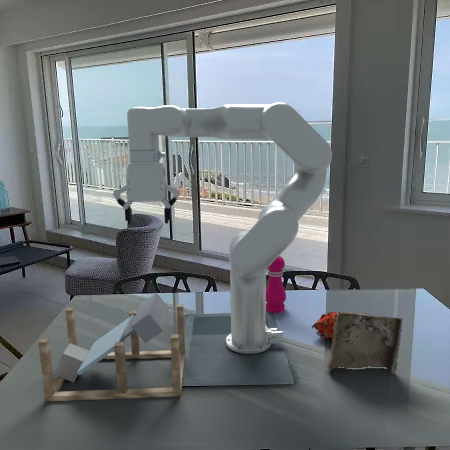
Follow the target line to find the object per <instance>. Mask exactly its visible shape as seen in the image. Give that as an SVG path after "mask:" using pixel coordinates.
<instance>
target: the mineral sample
mask: <svg viewBox="0 0 450 450" xmlns="http://www.w3.org/2000/svg"><path fill="white" fill-rule="evenodd" d="M340 312H341V313H340V314H339V313H338V314H339V315H338V316H337V318H336V323H335V326H334V333H333V342H332V343H331V352H330V356H329V359H328V362H327V364H326V368H328V370H329V374H330V375H332V370H333V369H338V368H337V367H341V368H342V367H344V368H363V367H368V366H370V367H386V368H387V369H388V370H389V371H388V370H387V371H388V373H390V374H393V375H396V371H398V368H397V367H398V364H399V363H398V359H399V350H400V346H401V336H402V334H401V333H402V328H403V319H404V318H401V317H400V318H399V317H388V316H384V315H383V316H375V315H370V313H369V314H368V313H364V312H357V311H349V310H348V311H340Z"/></svg>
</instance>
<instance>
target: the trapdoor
mask: <svg viewBox="0 0 450 450" xmlns="http://www.w3.org/2000/svg"><path fill="white" fill-rule="evenodd" d="M169 310H170V307H169V306H168V304H166V302H165V301H164V300H163V298H162V297H161V296H160V295H159V294H158V292H155V293H154V294H153V295H151V296H150V297H148V298H147V299H146V300H144V301H143V302H141V304H139V308H138V310H137V314H136V315H135V316H134V315H133V314H132V315H131V316H130V317H129V316H128V318H126V319H125V320H124V321H122V322H121V323H119V324H118V325H116V326H115V327H114V328H112V329H111V330H110V331H107V333H106V334H104V335H103V336H102V337H99V339H97V340H96V341H94V343H93V344H92V345H91V348H90V349H89V352H88V354H87V356H86V358H85V359H84V361H83V363H82V365H81V366H80V368H79V370H78V372H77V373H78V376H80V375H82V374H83V373H85V372H86V371H87V370H89V369H90V368H91V367H93V366H95V365H96V364H98V362H100V361H102V360H101V359H103V358H104V357H105V356H107V355H108V354H110V353H111V352H113V351H114V352H115V350H114V345H115V343H116V342H124V343H125V340H126V339H127V338H128V337H129V336H130V337H131V334H132V333H134V332H136V333H137V334H138V335H139V339H141V340H142V342H143V343H144V344H145V345H146V344H147V343H149V342H150V341H151V340H153V339H154V338H155V337H157V336H158V335H160V334H161V333H162V332H164V330H165V329H164V328H165V325H166V321H167V318H168V313H169Z"/></svg>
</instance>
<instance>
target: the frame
mask: <svg viewBox="0 0 450 450" xmlns="http://www.w3.org/2000/svg"><path fill="white" fill-rule="evenodd" d="M137 312H138V310H130V311H129V314H128V315H129V316H128V318H129V317H130V316H131V315H132V314H133V315H134V316H135V315H136V314H137ZM65 316H66V317H65V319H66V328H67V339H68V345H69V344H70V343H71V344H74V345H76V346H78V336H77V325H76V316H75V308H74V307H67V308H66V309H65ZM176 319H177V322H176V323H177V333H175V334H173V333H172V334H171V335H170V350H148V351H145V350H144V351H143V350H142V351H141V346H140V343H141V342H140V337H139V335H138V334H137V333H136V332H134V333H132V334H131V335H130V345H131V351H126V350H125V349H126V348H125V341H124V342H116V343H115V345H114V352H113V351H112V352H111V353H110V354H108V355H107V356H105V357H104V358H103V359H108V360H107V361H110V360H109V359H115V360H114V362H115V375H116V386H117V387H116V388H117V389H100V390H99V389H98V390H97V389H96V390H73V391H71V390H69V391H60V390H61V388H62V387H63V384H64V382H66V381H67V380H66V379H63V378H61V377H58V376H56V377H55V379H54V372H53V365H52V355H51V346H50V339H49V338H41V339H39V341H38V350H39V352H38V353H39V359H40V368H41V378H42V385H43V392H44V393H43V394H44V401H45V402H62V401H63V402H67V401H69V402H70V401H89V400H112V399H113V400H117V399H118V400H119V399H138V398H139V399H140V398H141V399H143V398H145V399H147V398H165V397H166V398H169V397H172V398H174V397H181V396H182V390H183V389H182V387H183V380H182V378H183V379H184V371H183V369H184V370H185V362H184V361H186V360H185V359H186V335H185V334H186V333H185V311H184V303H183V304H179V303H178V304H176ZM135 358H137V359H135ZM167 358H169V359H170V358H171V374H172V378H171V379H172V386H171V387H149V388H147V387H146V388H128V376H127V364H126V363H127V361H126V360H138V359H167ZM103 359H101V360H100V361H104V360H103Z"/></svg>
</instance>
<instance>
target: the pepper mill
mask: <svg viewBox="0 0 450 450" xmlns="http://www.w3.org/2000/svg"><path fill="white" fill-rule="evenodd" d="M285 265H286V263H285V259H284V257H282V256H281V255H279V257H278V258H277V259H276V260H275V261H274V262H273V263H272V264H271V265H270V266H269V267H268V268H267V269H268V270H267V276H268V284H267V285H266V312H268V313H271V314H278V313H283V312H285V309H286V308H285V307H286V305H285V302H286V300H287V294H286V290H285V287H284V285H283V281H282V279H283V278H282V276H283V275H284V270H283V269H284V268H285Z"/></svg>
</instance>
